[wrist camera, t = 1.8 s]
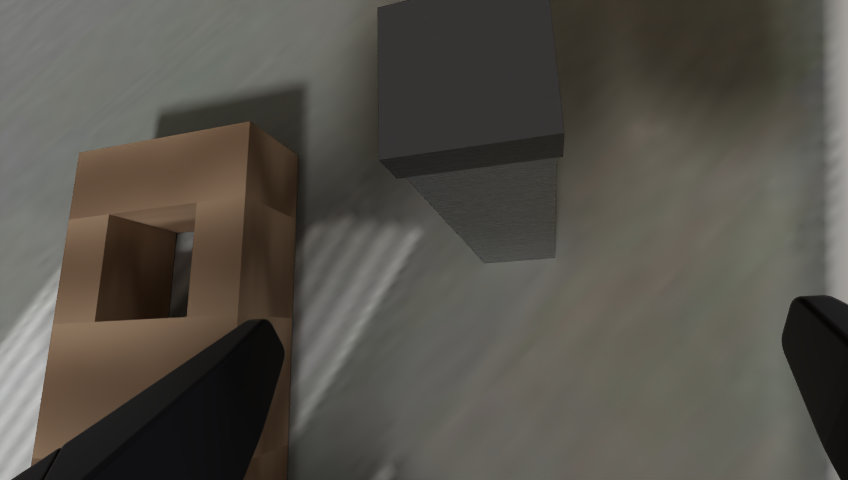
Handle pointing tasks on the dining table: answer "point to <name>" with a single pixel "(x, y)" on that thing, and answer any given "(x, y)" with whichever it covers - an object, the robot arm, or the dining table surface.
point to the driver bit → (475, 117)
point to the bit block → (170, 273)
